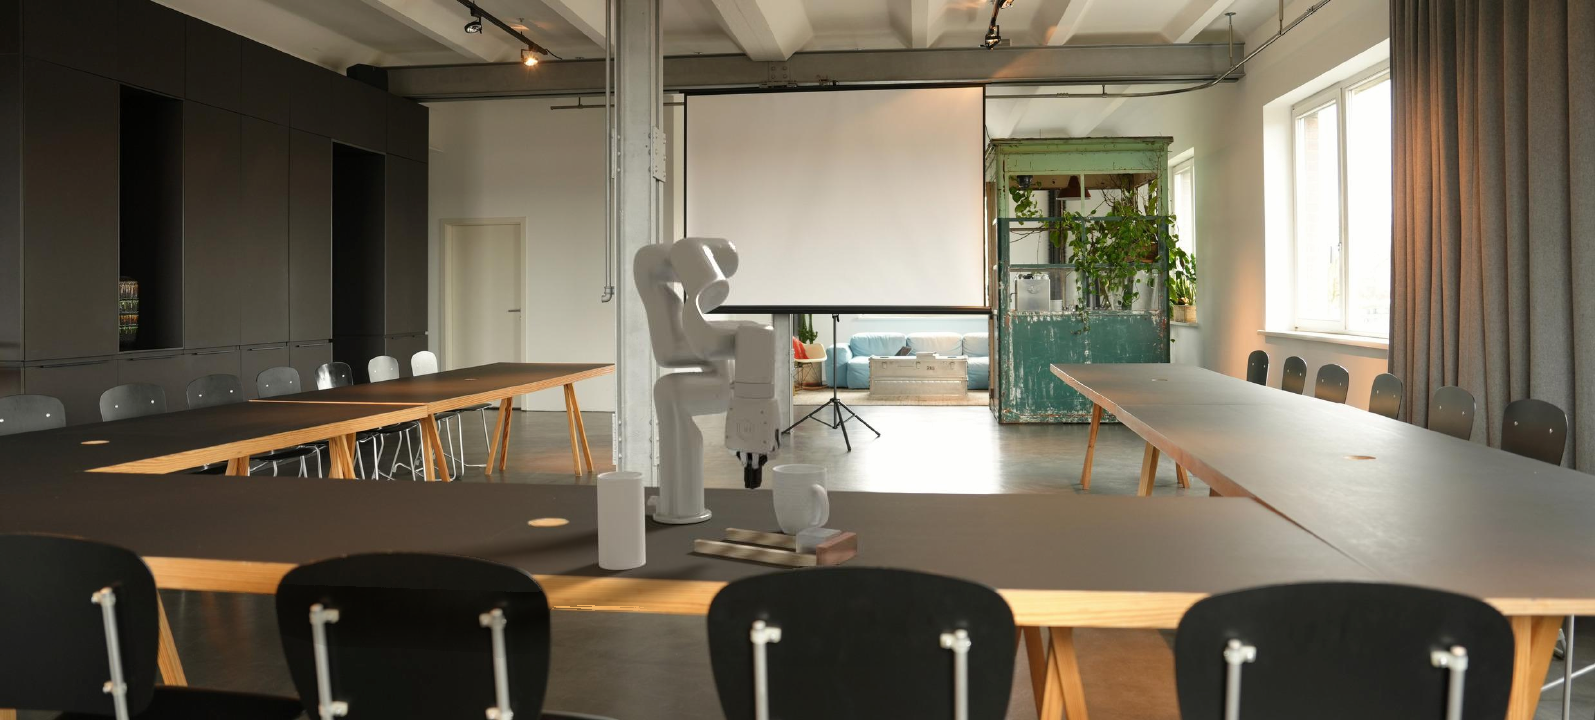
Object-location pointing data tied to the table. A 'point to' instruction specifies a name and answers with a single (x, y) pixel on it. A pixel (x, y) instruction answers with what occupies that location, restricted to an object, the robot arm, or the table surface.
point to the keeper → (814, 539)
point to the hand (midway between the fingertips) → (752, 487)
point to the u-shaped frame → (825, 553)
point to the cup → (621, 520)
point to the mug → (800, 497)
